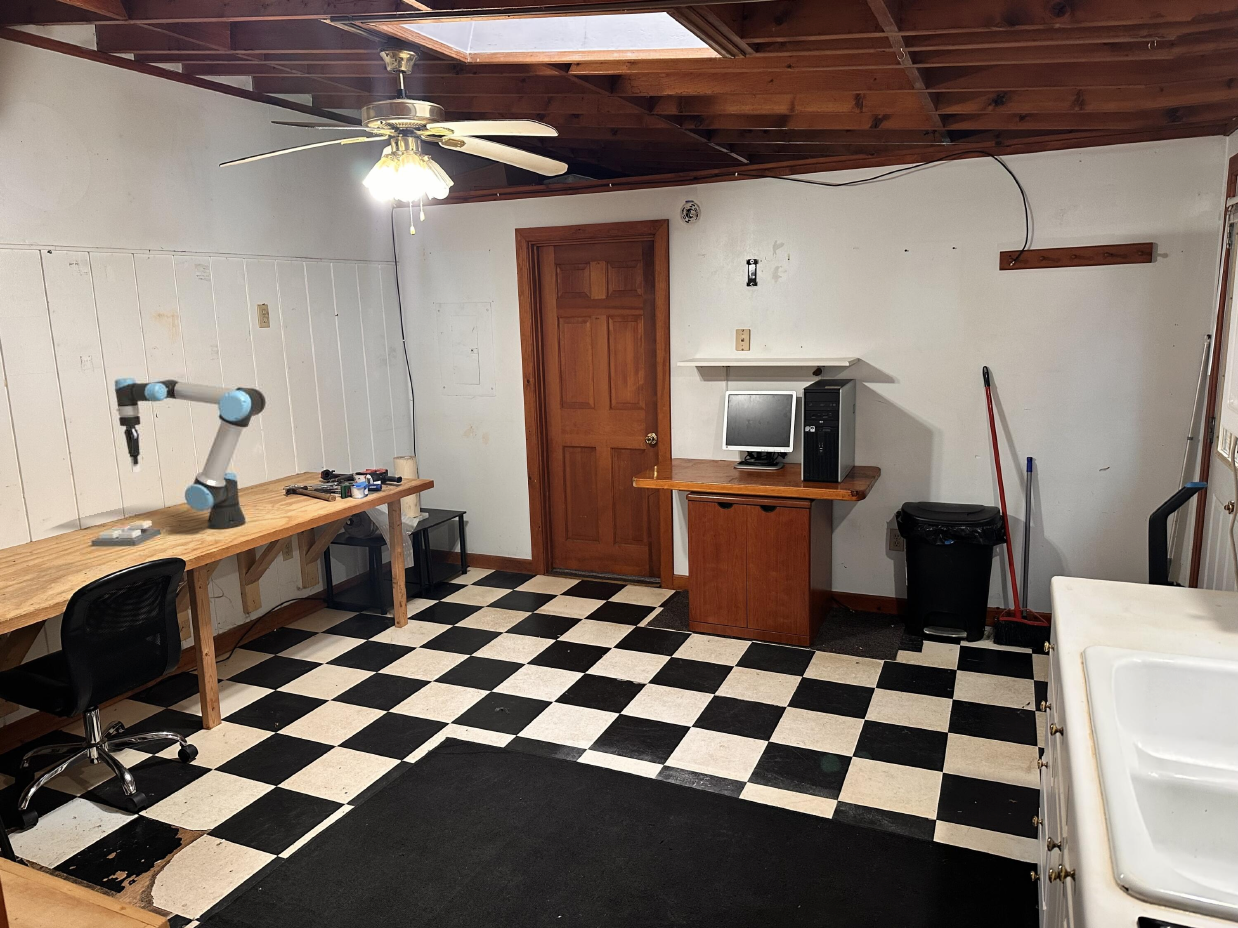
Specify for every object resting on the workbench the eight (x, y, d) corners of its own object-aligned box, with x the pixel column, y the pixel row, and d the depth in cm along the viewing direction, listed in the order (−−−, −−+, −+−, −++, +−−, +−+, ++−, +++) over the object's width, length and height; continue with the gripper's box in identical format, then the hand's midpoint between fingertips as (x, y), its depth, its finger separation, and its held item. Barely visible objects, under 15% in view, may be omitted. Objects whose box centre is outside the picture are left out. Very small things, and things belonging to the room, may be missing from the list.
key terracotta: (134, 534, 361) (133, 524, 360) (126, 537, 355) (124, 527, 355) (121, 534, 361) (119, 524, 361) (112, 537, 356) (111, 528, 355)
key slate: (141, 539, 353) (140, 529, 352) (133, 542, 347) (132, 532, 346) (128, 539, 353) (126, 529, 352) (119, 543, 347) (118, 533, 347)
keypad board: (160, 533, 363) (160, 528, 362) (135, 545, 345) (134, 540, 345) (119, 534, 364) (118, 528, 363) (92, 546, 346) (91, 540, 346)
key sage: (122, 539, 353) (121, 529, 352) (114, 543, 348) (112, 533, 347) (109, 539, 354) (107, 529, 353) (100, 543, 348) (98, 533, 347)
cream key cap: (152, 529, 360) (151, 520, 360) (144, 533, 355) (143, 523, 354) (139, 529, 361) (137, 520, 360) (130, 533, 355) (129, 523, 354)
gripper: (115, 415, 359) (122, 470, 364) (123, 418, 350) (130, 474, 354) (135, 413, 364) (142, 468, 368) (143, 416, 355) (150, 472, 359)
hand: (136, 471), depth 361 cm, fingers closed
